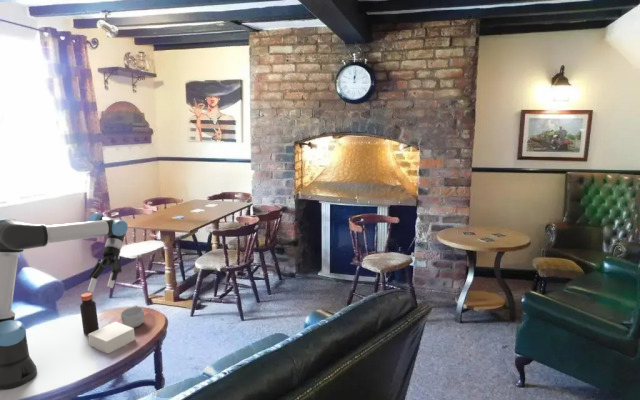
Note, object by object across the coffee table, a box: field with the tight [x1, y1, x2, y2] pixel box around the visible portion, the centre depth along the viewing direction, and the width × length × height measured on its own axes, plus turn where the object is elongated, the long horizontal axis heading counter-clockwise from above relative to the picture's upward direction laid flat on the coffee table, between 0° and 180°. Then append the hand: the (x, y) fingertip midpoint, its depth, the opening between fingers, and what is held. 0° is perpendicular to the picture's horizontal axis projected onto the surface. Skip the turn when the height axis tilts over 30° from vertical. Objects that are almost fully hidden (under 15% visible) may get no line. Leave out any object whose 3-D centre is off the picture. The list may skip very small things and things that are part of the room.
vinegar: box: [79, 292, 100, 336], centre depth 213 cm, size 7×7×20 cm
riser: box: [87, 321, 136, 354], centre depth 203 cm, size 14×14×6 cm
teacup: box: [120, 305, 145, 329], centre depth 222 cm, size 14×11×8 cm
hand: (100, 289), depth 204 cm, fingers open, 13 cm apart
